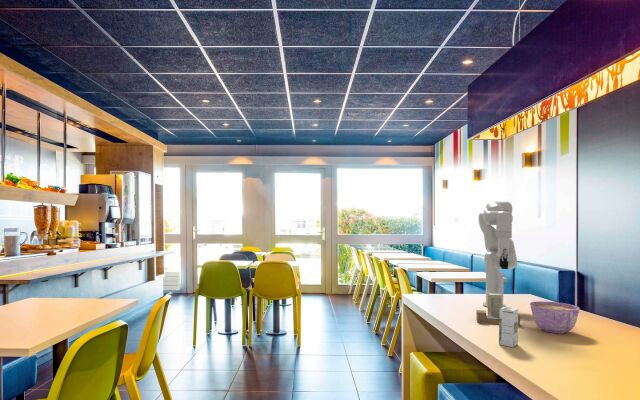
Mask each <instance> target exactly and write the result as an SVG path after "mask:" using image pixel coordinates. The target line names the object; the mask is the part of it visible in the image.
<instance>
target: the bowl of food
mask: <svg viewBox="0 0 640 400" xmlns="http://www.w3.org/2000/svg"><path fill="white" fill-rule="evenodd" d="M529 305H530V309H531V313H532V317H533V321H534V322H535V324H536V325H537V326H538V327H539V328H540V329H543V330H544V331H545V332H548V333H551V334H565V333H566V332H569V331H572V329H574V327H575V326H576V323H577V321H578V317H579V313H580V307H579V306H577V305H574V304H569V303H564V302H555V301H544V300H542V301H541V300H540V301H539V300H538V301H531V302H530V303H529Z"/></svg>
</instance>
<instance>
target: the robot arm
mask: <svg viewBox="0 0 640 400" xmlns="http://www.w3.org/2000/svg"><path fill="white" fill-rule="evenodd" d="M513 218H514V217H513V205H512V204H511V202H509V201H500V200H499V201H489V202H488V203H486V206H485V209H484V210H483V211H482V212H480V213H479V214H478V225H479V227H480V230H481V232H482V234H483V238H484V239H483V240H484V244H485V245H484V247H485V250H486V251H487V252H486V253H485V254H484V257H483V258H484V265H485V266H484V267H485V301H484V302H483V303H482V305H483V306H484V307H487V308H488V296H487V293H490V294H501V295H502V308H503V307H507V304H505V303H504V275H503V272H501V271H500V269H501V270H509V269H511V270H512V269H515V268H516V267H517V265H518V259H517V252H516V248H515V243H514V240H513V239H512V238H513V230H512V229H513V227H512V226H513V220H514V219H513ZM494 226H496V227H494Z"/></svg>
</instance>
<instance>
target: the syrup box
mask: <svg viewBox="0 0 640 400" xmlns="http://www.w3.org/2000/svg"><path fill="white" fill-rule="evenodd" d="M518 314H519V309H518V308H515V307H510V306H506V307H503V308H501V309H500V316H499V324H498V327H499V328H498V345H499V346H503V345H504V347H509V348H515V347H516V346H518V344H519V343H518V342H519V340H518V339H519V337H518V336H519V326H518Z"/></svg>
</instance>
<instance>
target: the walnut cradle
mask: <svg viewBox="0 0 640 400" xmlns="http://www.w3.org/2000/svg"><path fill="white" fill-rule="evenodd" d="M475 319H476V322H477V323H479V324H492V325H499V317H497V316H488V315H487V311H486V310H484V309H476V315H475ZM520 326H521V315H520V314H519V313H518V327H520Z"/></svg>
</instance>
